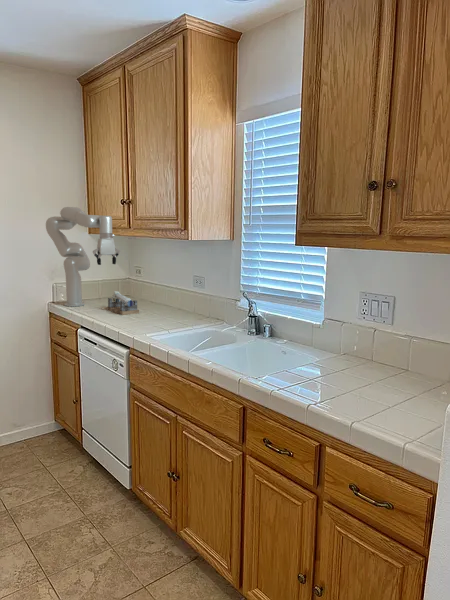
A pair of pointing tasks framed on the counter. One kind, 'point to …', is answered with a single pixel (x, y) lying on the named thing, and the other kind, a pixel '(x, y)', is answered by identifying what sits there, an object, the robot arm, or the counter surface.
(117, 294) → the white elongated piece
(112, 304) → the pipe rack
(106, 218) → the robot arm
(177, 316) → the counter surface
